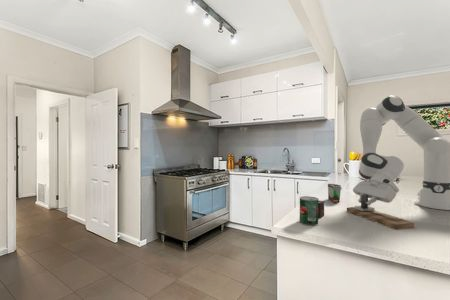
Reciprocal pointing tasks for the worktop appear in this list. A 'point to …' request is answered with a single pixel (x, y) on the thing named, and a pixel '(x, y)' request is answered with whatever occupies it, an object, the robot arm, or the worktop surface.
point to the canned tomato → (309, 210)
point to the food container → (334, 193)
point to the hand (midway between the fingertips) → (363, 203)
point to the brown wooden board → (382, 218)
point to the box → (320, 209)
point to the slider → (364, 204)
